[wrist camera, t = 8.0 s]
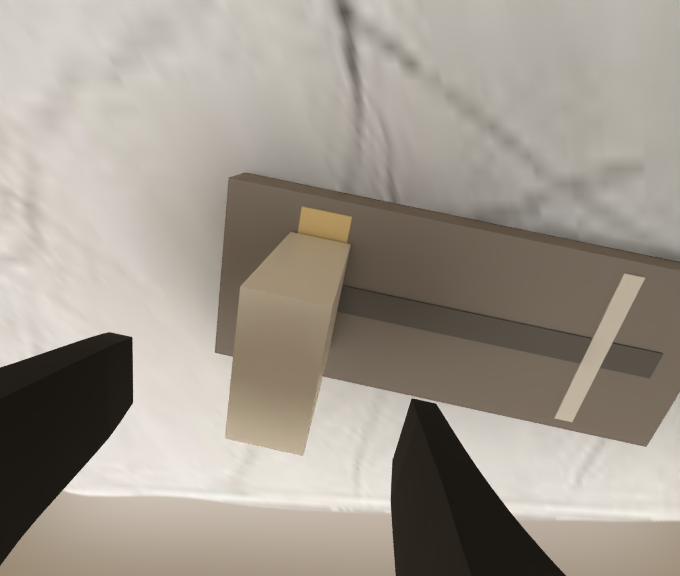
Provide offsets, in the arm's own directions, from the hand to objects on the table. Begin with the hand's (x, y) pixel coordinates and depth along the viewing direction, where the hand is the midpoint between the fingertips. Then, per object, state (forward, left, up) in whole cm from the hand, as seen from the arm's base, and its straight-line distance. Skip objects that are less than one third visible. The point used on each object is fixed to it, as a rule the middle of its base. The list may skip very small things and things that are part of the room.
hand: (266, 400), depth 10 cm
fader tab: (0, 0, -7) cm, 7 cm away
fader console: (-6, 0, -9) cm, 11 cm away
